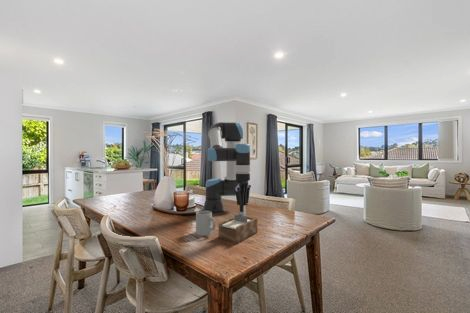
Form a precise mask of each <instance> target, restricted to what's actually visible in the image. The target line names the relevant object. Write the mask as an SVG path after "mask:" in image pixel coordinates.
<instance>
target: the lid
mask: <svg viewBox="0 0 470 313" xmlns="http://www.w3.org/2000/svg"><path fill="white" fill-rule="evenodd" d="M233 217H234V220H232V221H230V222H227V223H225V224H223V225H222V226H223V227H227V228H231V229H236V227H237V226H239V225H241V224H244V223H246V222H248V221H250V219H247V217H248V215H247V214H246V215H241V214H240V213H235V214H234V216H233Z"/></svg>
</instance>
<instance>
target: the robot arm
mask: <svg viewBox="0 0 470 313" xmlns="http://www.w3.org/2000/svg"><path fill="white" fill-rule="evenodd" d="M207 132H208V133H207V136H208V138H209V144H210V145H209V146H210V147H208V148H207V161H208V162H226V175H225V176H224V179H223V180H222V178H221V177H219V178H216V177H215V178H211V179H207V180H206V181H205V201H204V205H203V208H202V209H203V210H204V211H211V212H212V214H214V213H216V214H217V213H220V212H223V211H224V203H223V201H222V197H229V196H230V197H231V196H232V197H235V199H236V205H237V206H239V214H241V215H246V216H247V214H246V211H247V208H246V206H248V204H249V200H250V191H251V187H252V186H251V185H250V184H249V181H251V174H250V172H251V146H250V144H249V143H241V141H242V139H243V138H244V129H243V125H242V124H241V123H240V122H225V121H224V122H222V121H220V122H217V123H215V124H213V125H211V126H210V127H209V129H208V131H207ZM223 139H224V142H225V143H226V147H224V143H223ZM203 210H202V211H203Z"/></svg>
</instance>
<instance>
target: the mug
mask: <svg viewBox="0 0 470 313" xmlns="http://www.w3.org/2000/svg"><path fill="white" fill-rule="evenodd" d="M215 229H216V219H215V218H214V217H213V213H212V212H211V211H203V210H198V211H196V212H195V235H196V236H199V237H205V236H206V237H207V236H211V235H212V233H213V231H214V230H215Z"/></svg>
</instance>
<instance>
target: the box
mask: <svg viewBox="0 0 470 313" xmlns="http://www.w3.org/2000/svg"><path fill="white" fill-rule="evenodd" d="M247 219H250V221H248V222H246V223H244V224H241V225H239V226H237V227H236V229H231V228H227V227H223V226H222V225H223V224H225V223H227V222H230V221H232V220H234V216H232V217H229V218H228V219H225V220H223V221H221V222H218V239H220V240H225V241H228V242H231V243H236V244H241V243H242V242H244V241H245V240H247V239H249V238H250V237H252V236H254V235H256V234H257V233H258V218H256V217H251V216H247Z"/></svg>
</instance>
